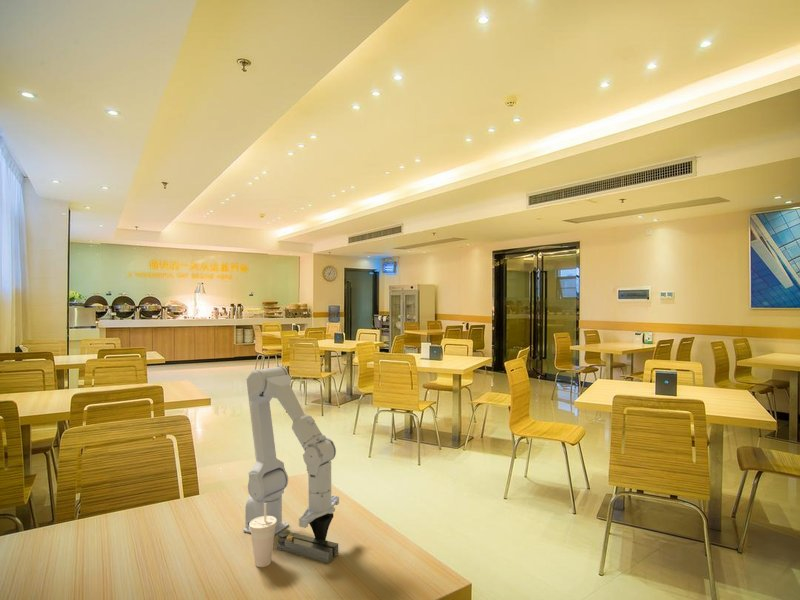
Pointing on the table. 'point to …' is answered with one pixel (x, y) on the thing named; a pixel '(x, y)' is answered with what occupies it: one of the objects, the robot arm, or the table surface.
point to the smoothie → (263, 538)
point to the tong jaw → (311, 540)
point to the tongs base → (305, 549)
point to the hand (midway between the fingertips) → (320, 543)
